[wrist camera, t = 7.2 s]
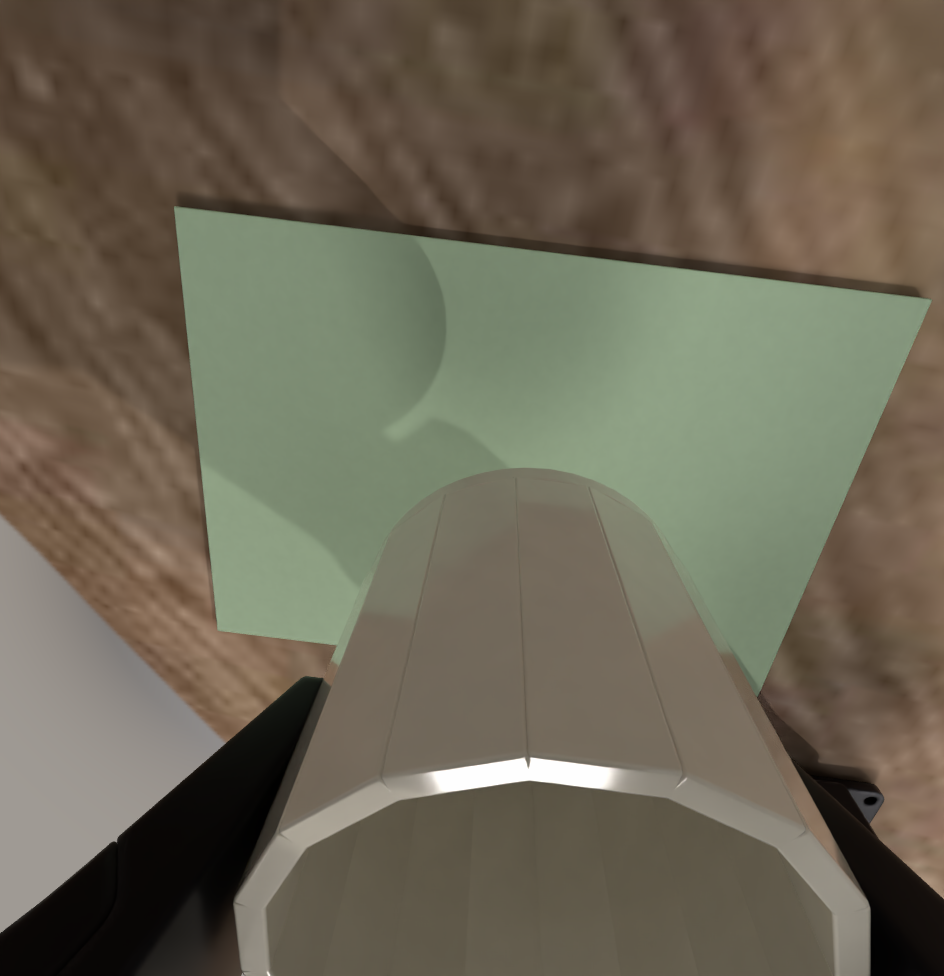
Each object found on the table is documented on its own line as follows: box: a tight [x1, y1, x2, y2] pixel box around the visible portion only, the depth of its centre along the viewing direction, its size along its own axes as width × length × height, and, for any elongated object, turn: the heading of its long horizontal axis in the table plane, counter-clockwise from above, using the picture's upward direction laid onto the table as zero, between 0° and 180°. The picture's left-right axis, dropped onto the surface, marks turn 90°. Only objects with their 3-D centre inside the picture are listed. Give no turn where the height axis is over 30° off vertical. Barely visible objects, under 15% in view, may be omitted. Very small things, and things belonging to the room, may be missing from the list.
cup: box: [233, 468, 871, 976], centre depth 9 cm, size 7×7×6 cm
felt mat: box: [174, 206, 932, 697], centre depth 18 cm, size 14×20×1 cm
